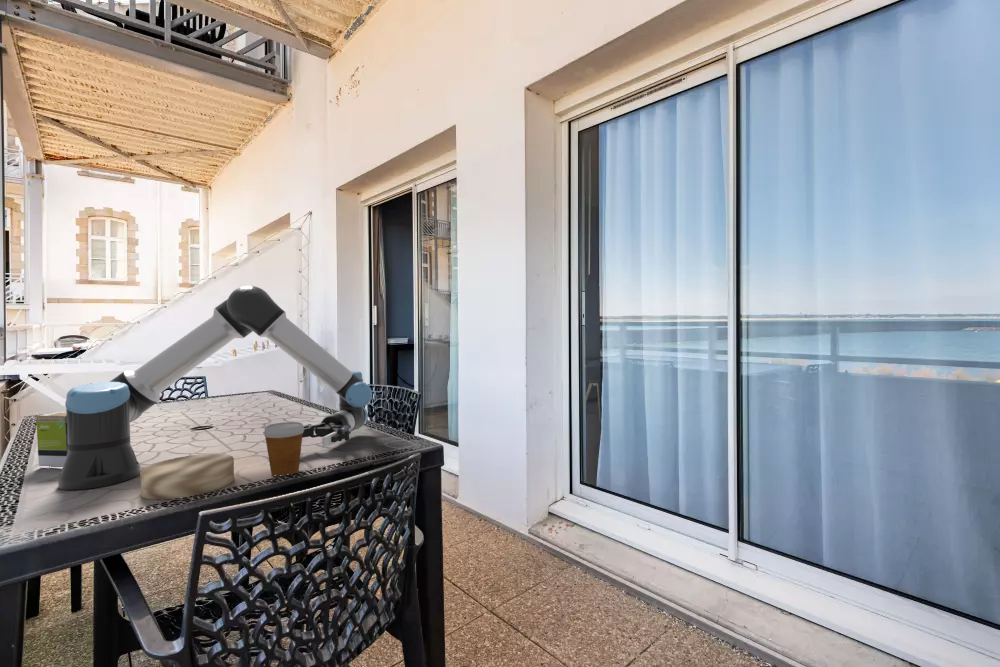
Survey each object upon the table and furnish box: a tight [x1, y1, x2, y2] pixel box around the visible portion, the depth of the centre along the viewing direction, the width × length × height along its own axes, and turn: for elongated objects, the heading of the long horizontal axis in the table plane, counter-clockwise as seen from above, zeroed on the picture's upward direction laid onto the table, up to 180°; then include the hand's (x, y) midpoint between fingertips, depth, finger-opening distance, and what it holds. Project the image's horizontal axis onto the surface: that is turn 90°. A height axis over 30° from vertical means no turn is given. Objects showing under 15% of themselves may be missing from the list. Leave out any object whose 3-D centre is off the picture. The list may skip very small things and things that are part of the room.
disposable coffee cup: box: [262, 421, 305, 477], centre depth 116 cm, size 10×10×12 cm
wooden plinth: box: [139, 453, 235, 501], centre depth 107 cm, size 18×18×5 cm
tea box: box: [35, 410, 68, 467], centre depth 130 cm, size 15×10×15 cm
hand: (299, 442), depth 122 cm, fingers open, 13 cm apart
